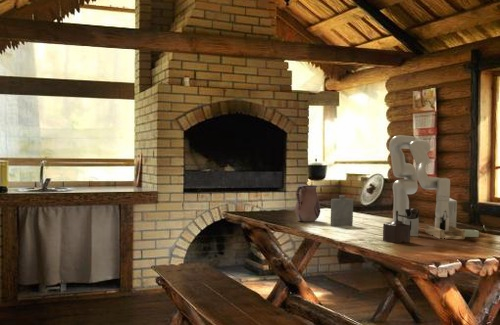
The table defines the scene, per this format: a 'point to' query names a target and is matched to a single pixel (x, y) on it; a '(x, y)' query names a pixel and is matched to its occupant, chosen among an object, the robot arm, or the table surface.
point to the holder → (471, 233)
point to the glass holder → (412, 222)
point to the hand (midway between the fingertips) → (441, 229)
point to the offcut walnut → (447, 232)
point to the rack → (439, 232)
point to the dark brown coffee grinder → (398, 229)
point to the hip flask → (341, 212)
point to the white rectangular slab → (438, 221)
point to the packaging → (452, 212)
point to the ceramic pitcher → (307, 203)
